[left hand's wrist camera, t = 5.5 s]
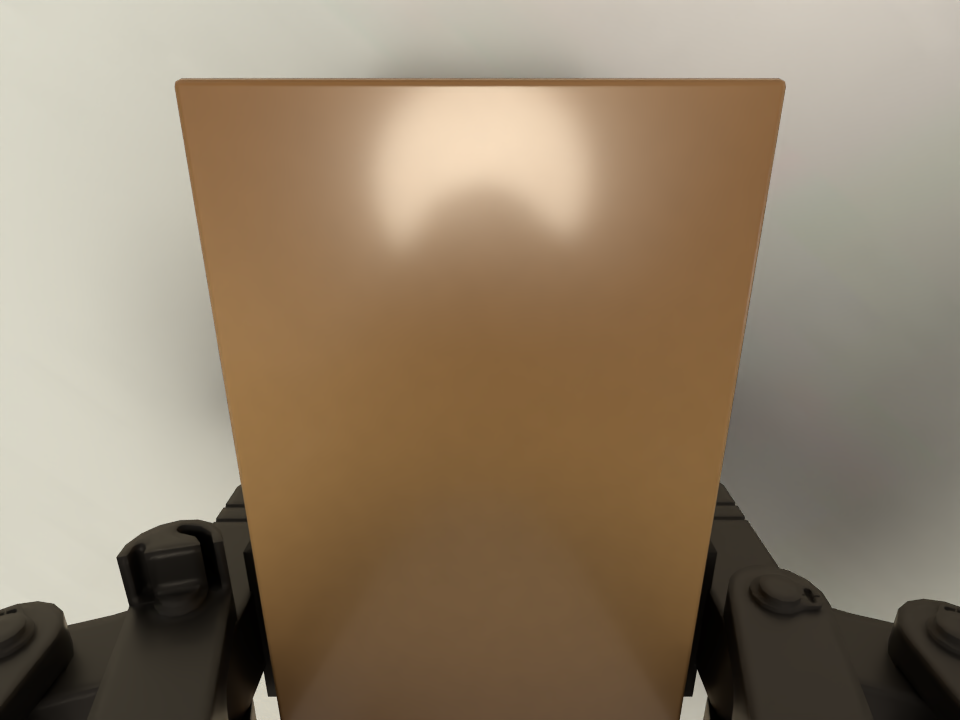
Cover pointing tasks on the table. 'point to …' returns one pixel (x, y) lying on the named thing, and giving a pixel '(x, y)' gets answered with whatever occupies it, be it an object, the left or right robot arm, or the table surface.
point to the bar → (480, 376)
